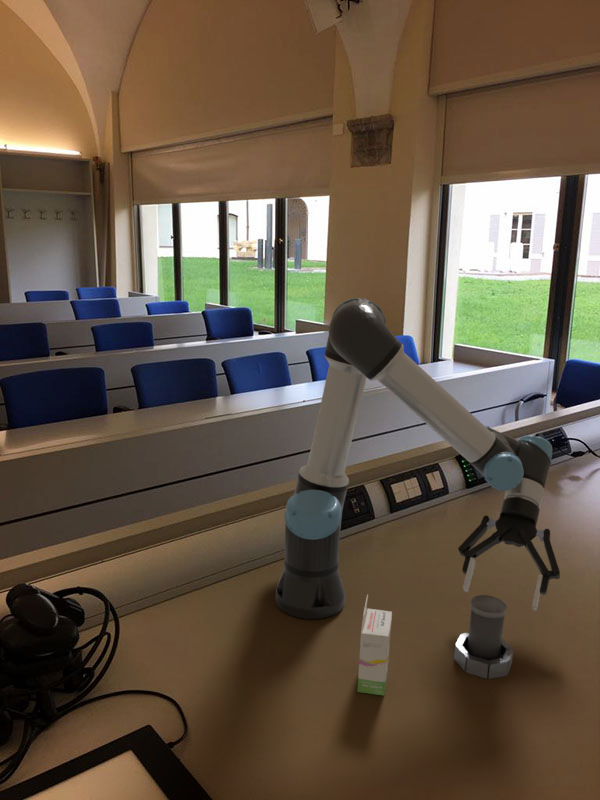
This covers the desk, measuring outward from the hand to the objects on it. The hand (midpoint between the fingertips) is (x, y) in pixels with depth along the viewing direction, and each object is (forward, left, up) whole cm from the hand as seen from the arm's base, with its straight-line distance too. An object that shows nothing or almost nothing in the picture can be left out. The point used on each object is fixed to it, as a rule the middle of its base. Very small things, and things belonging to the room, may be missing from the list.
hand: (499, 599), depth 135 cm
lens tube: (0, -11, -8) cm, 13 cm away
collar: (0, -11, -8) cm, 13 cm away
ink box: (-16, -26, -8) cm, 32 cm away
